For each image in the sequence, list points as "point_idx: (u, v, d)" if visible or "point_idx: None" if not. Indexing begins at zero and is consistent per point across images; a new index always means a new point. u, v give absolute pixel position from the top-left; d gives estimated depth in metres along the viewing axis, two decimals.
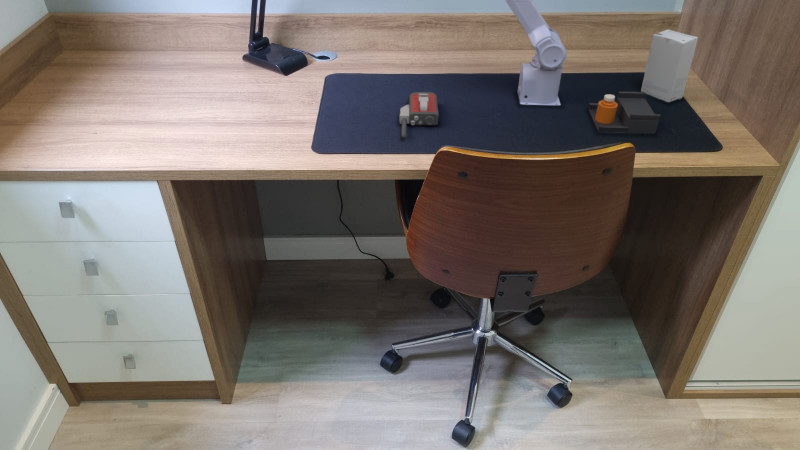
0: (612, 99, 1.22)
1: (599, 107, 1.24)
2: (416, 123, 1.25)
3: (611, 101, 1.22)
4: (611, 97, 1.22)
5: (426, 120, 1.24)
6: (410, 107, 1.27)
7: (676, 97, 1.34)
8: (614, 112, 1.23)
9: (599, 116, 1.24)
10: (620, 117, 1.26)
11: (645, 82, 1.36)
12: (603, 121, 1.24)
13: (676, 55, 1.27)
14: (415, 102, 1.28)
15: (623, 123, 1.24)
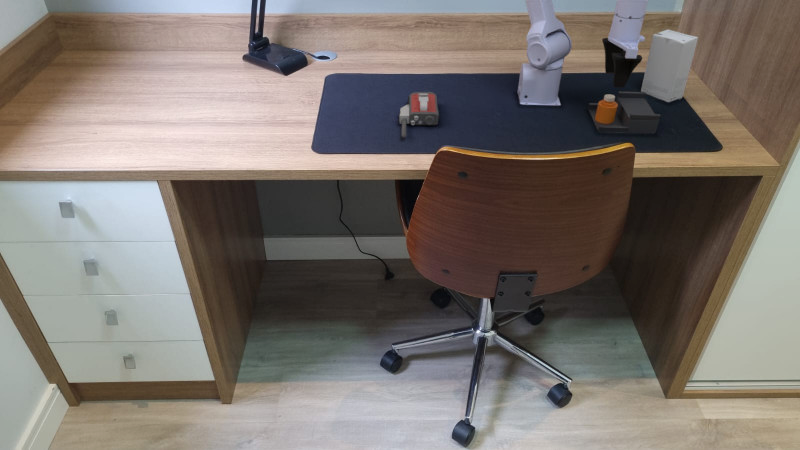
0: (612, 99, 1.22)
1: (599, 107, 1.24)
2: (416, 123, 1.25)
3: (611, 101, 1.22)
4: (611, 97, 1.22)
5: (426, 120, 1.24)
6: (410, 107, 1.27)
7: (676, 97, 1.34)
8: (614, 112, 1.23)
9: (599, 116, 1.24)
10: (620, 117, 1.26)
11: (645, 82, 1.36)
12: (603, 121, 1.24)
13: (676, 55, 1.27)
14: (415, 102, 1.28)
15: (623, 123, 1.24)
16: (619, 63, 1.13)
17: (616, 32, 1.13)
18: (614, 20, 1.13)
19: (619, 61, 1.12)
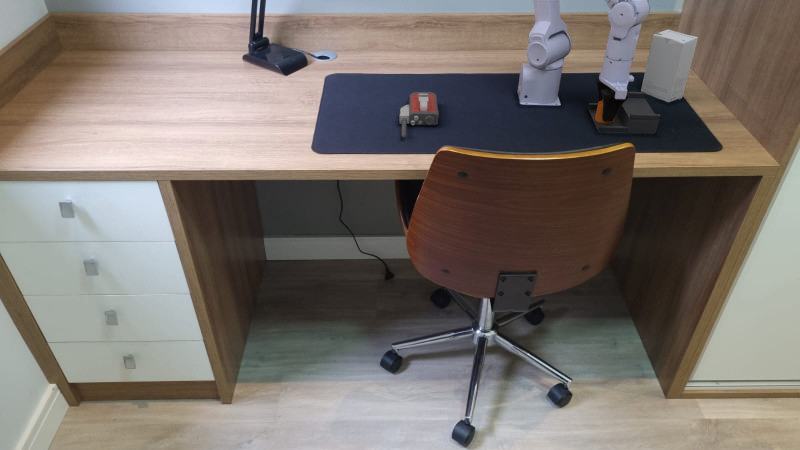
0: None
1: (599, 107, 1.24)
2: (416, 123, 1.25)
3: None
4: None
5: (426, 120, 1.24)
6: (410, 107, 1.27)
7: (676, 97, 1.34)
8: None
9: (599, 116, 1.24)
10: (620, 117, 1.26)
11: (645, 82, 1.36)
12: (603, 121, 1.24)
13: (676, 55, 1.27)
14: (415, 102, 1.28)
15: (623, 123, 1.24)
16: (607, 99, 1.19)
17: (606, 73, 1.18)
18: (605, 61, 1.18)
19: (607, 98, 1.18)
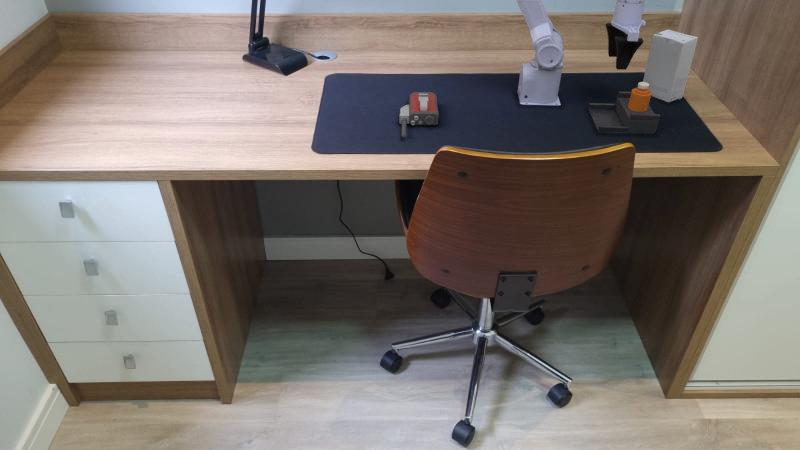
0: (646, 87, 1.20)
1: (633, 95, 1.21)
2: (416, 123, 1.25)
3: (645, 89, 1.20)
4: (645, 85, 1.20)
5: (426, 120, 1.24)
6: (410, 107, 1.27)
7: (676, 97, 1.34)
8: (648, 100, 1.21)
9: (633, 104, 1.22)
10: (620, 117, 1.26)
11: None
12: (636, 109, 1.22)
13: (676, 55, 1.27)
14: (415, 102, 1.28)
15: (623, 123, 1.24)
16: (621, 46, 1.19)
17: (618, 16, 1.20)
18: (617, 5, 1.19)
19: (621, 44, 1.19)
